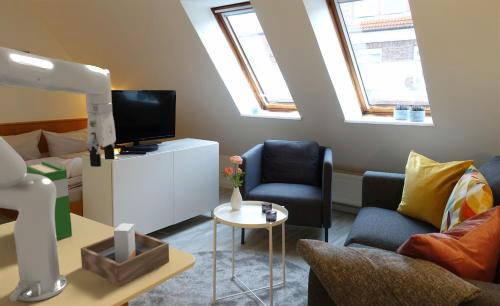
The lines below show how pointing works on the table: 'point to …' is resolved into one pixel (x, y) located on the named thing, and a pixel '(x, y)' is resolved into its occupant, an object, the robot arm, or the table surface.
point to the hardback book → (57, 196)
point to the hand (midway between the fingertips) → (103, 162)
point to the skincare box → (124, 242)
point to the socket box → (147, 258)
